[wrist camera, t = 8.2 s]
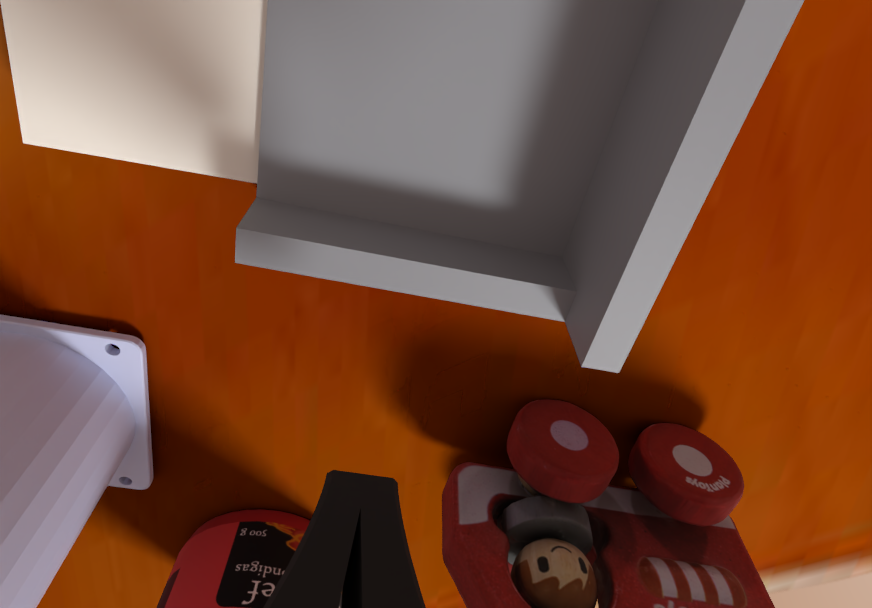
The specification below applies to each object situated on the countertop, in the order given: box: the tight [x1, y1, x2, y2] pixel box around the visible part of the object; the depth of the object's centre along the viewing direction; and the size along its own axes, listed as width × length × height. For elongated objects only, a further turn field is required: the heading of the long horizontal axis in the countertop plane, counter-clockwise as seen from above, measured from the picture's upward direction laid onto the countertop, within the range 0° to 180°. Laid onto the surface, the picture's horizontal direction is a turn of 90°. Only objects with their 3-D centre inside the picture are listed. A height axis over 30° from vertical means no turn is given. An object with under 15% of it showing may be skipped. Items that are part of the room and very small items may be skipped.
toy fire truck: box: [442, 399, 775, 608], centre depth 21 cm, size 7×12×10 cm, turn 76°
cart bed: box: [235, 0, 804, 373], centre depth 13 cm, size 10×12×6 cm
